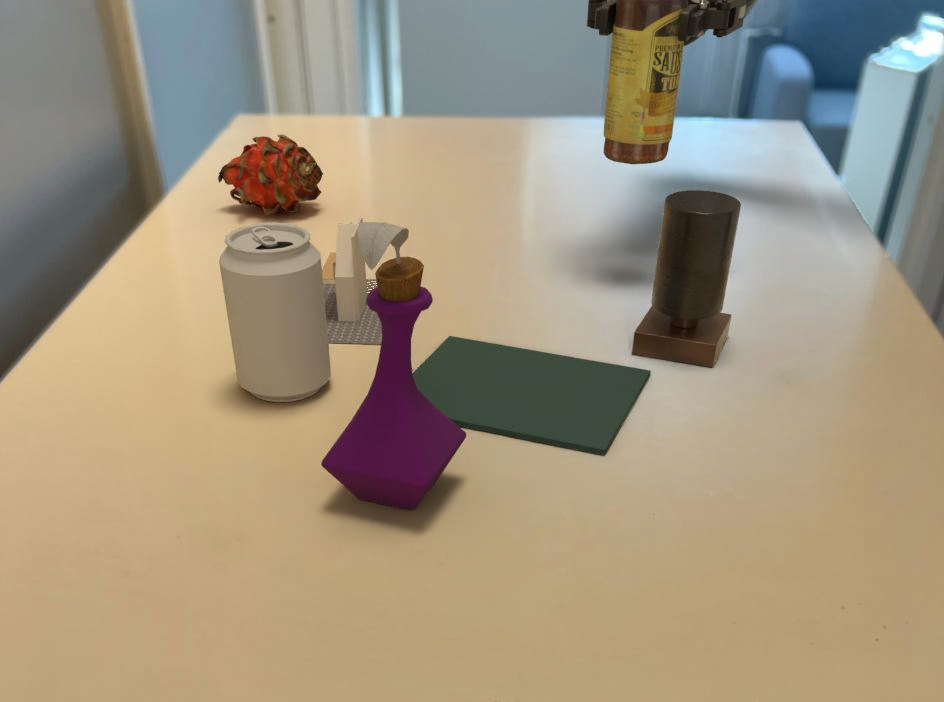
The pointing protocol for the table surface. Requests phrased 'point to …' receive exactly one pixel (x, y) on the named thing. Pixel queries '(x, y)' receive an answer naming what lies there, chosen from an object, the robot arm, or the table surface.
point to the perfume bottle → (394, 392)
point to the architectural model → (349, 292)
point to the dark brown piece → (690, 279)
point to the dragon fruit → (273, 175)
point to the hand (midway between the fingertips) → (643, 23)
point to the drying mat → (530, 393)
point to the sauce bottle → (643, 80)
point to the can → (276, 311)
